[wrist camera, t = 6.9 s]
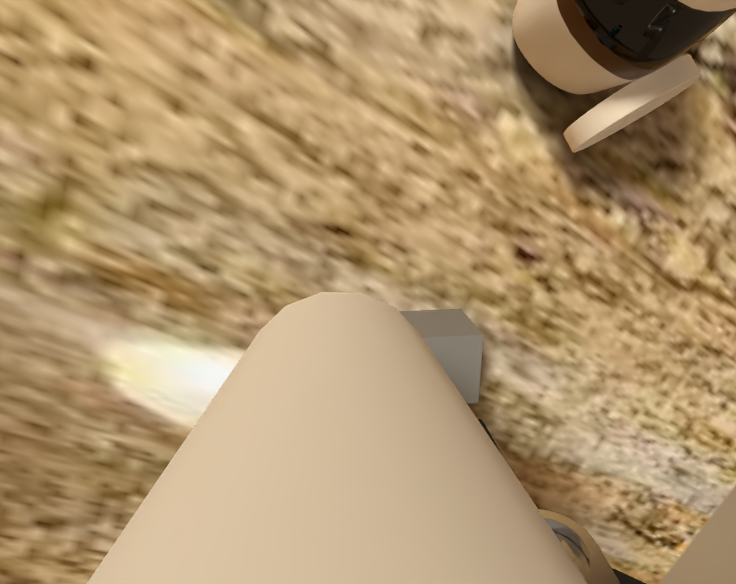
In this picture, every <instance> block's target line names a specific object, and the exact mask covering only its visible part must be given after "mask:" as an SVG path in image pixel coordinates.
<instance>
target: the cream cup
mask: <svg viewBox="0 0 736 584" xmlns="http://www.w3.org/2000/svg"><path fill="white" fill-rule="evenodd" d="M537 509H538V508H537V507H536V505H535V504H534V502H533V501H532V499H531V498H530V496H529V495H528V493H527V492H526V490H525V489H524V487H523V486H522V484H521V483H520V482H519V480H518V479H517V477H516V476H515V474H514V473H513V471H512V470H511V468H510V467H509V465H508V464H507V462H506V461H505V459H504V458H503V456H502V455H501V453H500V452H499V450H498V449H497V447H496V446H495V444H494V443H493V442H492V440H491V439H490V437H489V436H488V434H487V433H486V431H485V430H484V428H483V427H482V425H481V424H480V422H479V421H478V419H477V418H476V416H475V415H474V413H473V412H472V410H471V409H470V407H469V406H468V405H467V403H466V402H465V400H464V399H463V397H462V396H461V394H460V393H459V391H458V390H457V388H456V387H455V385H454V384H453V382H452V381H451V379H450V378H449V376H448V375H447V373H446V372H445V370H444V369H443V367H442V366H441V365H440V363H439V362H438V360H437V359H436V357H435V356H434V354H433V353H432V351H431V350H430V348H429V347H428V345H427V344H426V342H425V341H424V339H423V338H422V336H421V335H420V333H419V332H418V331H417V330H416V329H415V328H414V327H413V326H412V325H411V324H410V322H409V321H408V320H407V319H406V318H405V317H404V316H403V315H402V314H401V313H400V312H399V311H398V310H397V309H396V308H395V307H393V306H391V305H388V304H386V303H383V302H381V301H379V300H376V299H374V298H372V297H369V296H367V295H364V294H362V293H343V292H321V293H318V294H316V295H313V296H310V297H308V298H305V299H302V300H300V301H297V302H295V303H292V304H289V305H287V306H285V307H284V308H283V309H282V310H281V311H280V312H279V313H278V314H277V315H276V316H275V317H274V318H272V319H271V320H270V321H269V322H268V323H267V324H266V325H265V326H264V327H263V328H262V329H261V330H260V331H259V332H258V334H257V336H256V337H255V338H254V340H253V341H252V343H251V344H250V346H249V347H248V349H247V350H246V352H245V353H244V355H243V356H242V357H241V359H240V360H239V362H238V363H237V365H236V366H235V368H234V369H233V371H232V372H231V374H230V375H229V376H228V378H227V379H226V381H225V382H224V384H223V385H222V387H221V388H220V390H219V391H218V393H217V394H216V396H215V397H214V398H213V400H212V401H211V403H210V404H209V406H208V407H207V409H206V410H205V412H204V413H203V415H202V416H201V417H200V419H199V420H198V422H197V423H196V425H195V426H194V428H193V429H192V431H191V432H190V434H189V435H188V436H187V438H186V439H185V441H184V442H183V444H182V445H181V447H180V448H179V450H178V451H177V453H176V454H175V456H174V457H173V458H172V460H171V461H170V463H169V464H168V466H167V467H166V469H165V470H164V472H163V473H162V475H161V476H160V477H159V479H158V480H157V482H156V483H155V485H154V486H153V488H152V489H151V491H150V492H149V494H148V495H147V496H146V498H145V499H144V501H143V502H142V504H141V505H140V507H139V508H138V510H137V511H136V513H135V514H134V516H133V517H132V518H131V520H130V521H129V523H128V524H127V526H126V527H125V529H124V530H123V532H122V533H121V535H120V536H119V537H118V539H117V540H116V542H115V543H114V545H113V546H112V548H111V549H110V551H109V552H108V554H107V555H106V556H105V558H104V559H103V561H102V562H101V564H100V565H99V567H98V568H97V570H96V571H95V573H94V574H93V576H92V577H91V578H90V580H89V581H88V583H87V584H587V582H586V581H585V578H584V576H583V575H582V573H581V572H580V570H579V569H578V567H577V566H576V564H575V563H574V562H573V560H572V559H571V557H570V556H569V554H568V553H567V551H566V550H565V549H564V547H563V546H562V544H561V542H560V541H559V539H558V538H557V536H556V535H555V533H554V532H553V530H552V529H551V527H550V526H549V524H548V523H547V522H546V521H545V520H544V519H543V518H542V516H541V515H540V513H539V512H538V510H537Z"/></svg>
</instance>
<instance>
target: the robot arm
mask: <svg viewBox="0 0 736 584" xmlns="http://www.w3.org/2000/svg"><path fill="white" fill-rule="evenodd" d="M478 421H479V422H480V424H481V425H482V427H483V428H484V430H485V431H486V433H487V434H488V436H489V437H490V439H491V440H492V442H493V443H494V444H495V446H496V447H497V445H496V443H495V442H494V440H493V438H492V436H491V435H490V433H489V431H488V429H487V428H486V426H485V424H484V423H483V421H482V420H481V419H478ZM497 449H498V447H497ZM498 450H499V449H498ZM499 452H500V451H499ZM500 453H501V452H500ZM501 455H502V454H501ZM537 510H538V512H539V513H540V515H541V516H542V518H543V519H544V520H545V521H546V522H547V523H548V524H549V526H550V527H551V529H552V530H553V532H554V533H555V535H556V536H557V538H558V539H559V541H560V542H561V544H562V546H563V547H564V549H565V550H566V551H567V553H568V554H569V556H570V557H571V559H572V560H573V562H574V563H575V564H576V566H577V567H578V569H579V570H580V572H581V573H582V575H583V576H584V578H585V581H586V582H587V584H646V583H643V582H641V581H639V580H637V579H635V578H633V577H630V576H628V575H626V574H624V573H622V572H619V571H617V570H615V569H613V568H611V567H610V565H609V563H608V561H607V560H606V558H605V556H604V555H603V553H602V551H601V550H600V548H599V546H598V545H597V543H596V542H595V541H594V539H593V538H592V537H591V535H590V534H589V533H588V532H587V530H585V529H584V528H583V527H581V526H580V525H579V524H578V523H576V522H575V521H574V520H572V519H570V518H568V517H566V516H564V515H561V514H559V513H556V512H552V511H548V510H543V509H537Z"/></svg>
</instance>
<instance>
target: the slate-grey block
mask: <svg viewBox="0 0 736 584" xmlns="http://www.w3.org/2000/svg"><path fill="white" fill-rule="evenodd" d="M399 312H400V313H401V314H402V315H403V316H404V317H405V318H406V319H407V320H408V321H409V322H410V324H411V325H412V326H413V327H414V328H415V329H416V330H417V331H418V332H419V333H420V335H421V336H422V338H423V339H424V341H425V342H426V344H427V345H428V347H429V348H430V350H431V351H432V353H433V354H434V356H435V357H436V359H437V360H438V362H439V363H440V365H441V366H442V367H443V369H444V370H445V372H446V373H447V375H448V376H449V378H450V379H451V381H452V382H453V384H454V385H455V387H456V388H457V390H458V391H459V393H460V394H461V396H462V397H463V399H464V400H465V402H466V403H467V404H469V403H478V401H479V388H480V374H481V360H482V347H483V334H482V333H481V332H480V330H479V329H478V328H477V327H476V326H475V325H474V323H473V322H472V321H471V320H470V319H469V318H468V317H467V315H466V314H465V313H464V312H463V311H462V310H461V309H445V310H422V311H399Z"/></svg>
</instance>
